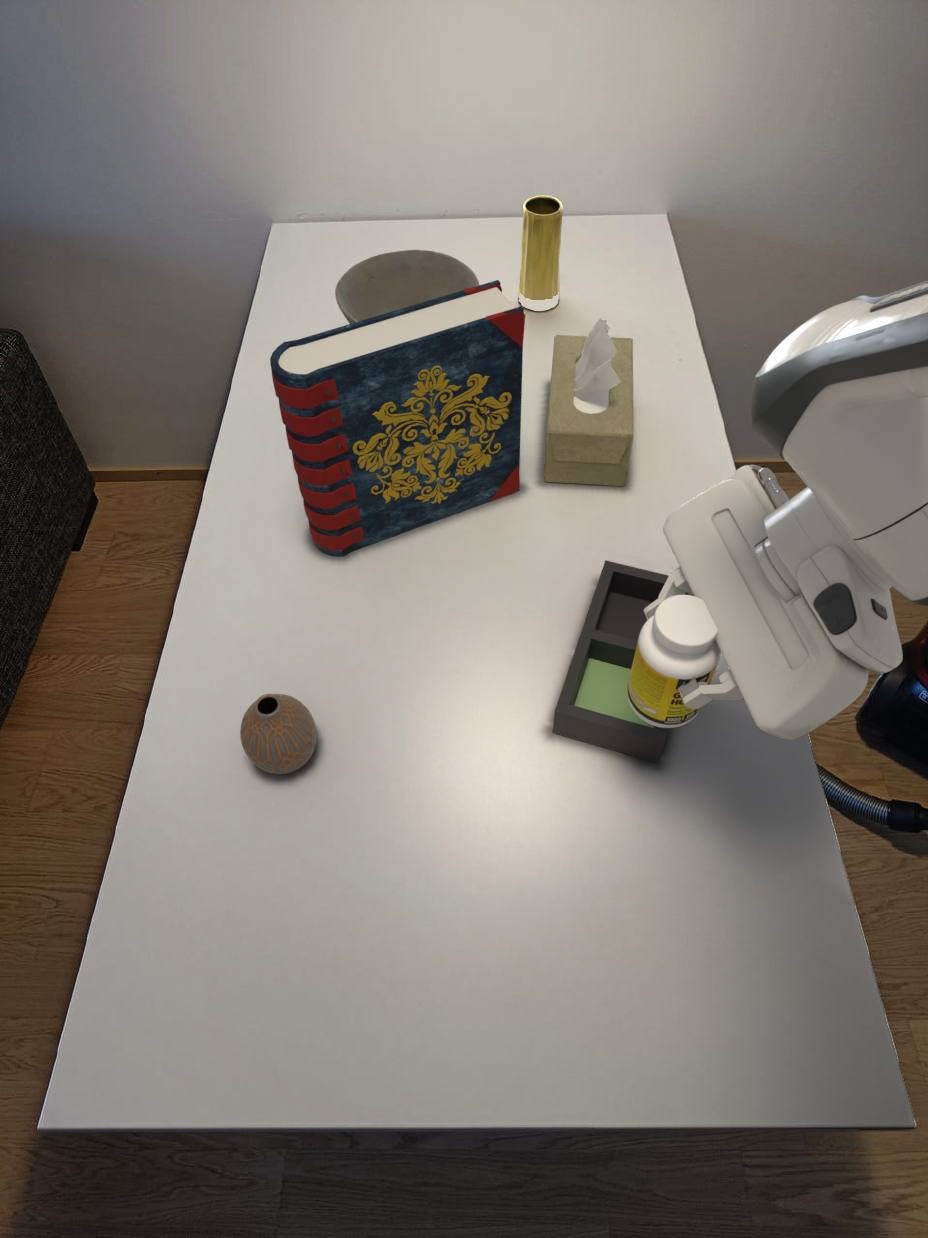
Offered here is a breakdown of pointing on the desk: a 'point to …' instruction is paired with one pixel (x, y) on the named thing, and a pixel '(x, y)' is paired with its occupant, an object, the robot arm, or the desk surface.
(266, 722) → the vase
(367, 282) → the bowl
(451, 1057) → the desk surface
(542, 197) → the vase
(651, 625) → the pill bottle
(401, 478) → the book
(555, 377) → the tissue box
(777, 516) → the robot arm
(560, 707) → the holder
